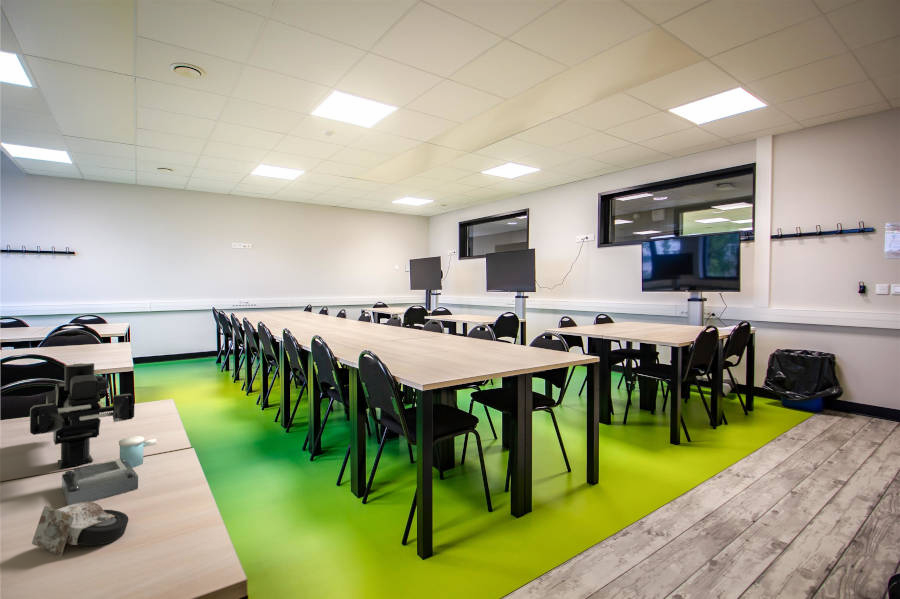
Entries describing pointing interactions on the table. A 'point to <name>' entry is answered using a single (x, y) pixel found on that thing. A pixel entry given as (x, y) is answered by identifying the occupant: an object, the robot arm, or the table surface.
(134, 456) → the pump canister
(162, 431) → the table surface
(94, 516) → the caster wheel
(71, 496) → the grey metal socket plate
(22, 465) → the table surface
